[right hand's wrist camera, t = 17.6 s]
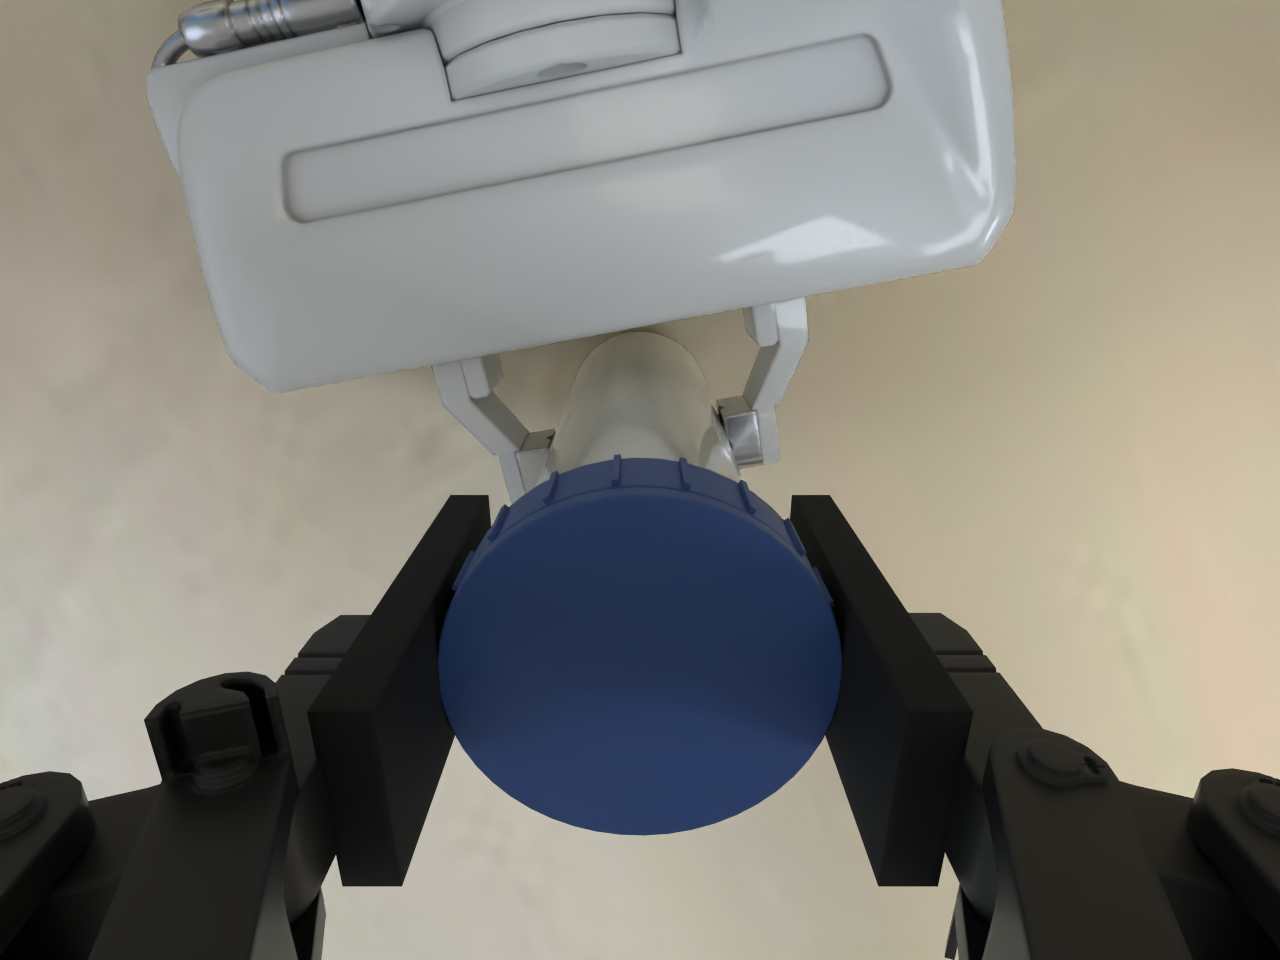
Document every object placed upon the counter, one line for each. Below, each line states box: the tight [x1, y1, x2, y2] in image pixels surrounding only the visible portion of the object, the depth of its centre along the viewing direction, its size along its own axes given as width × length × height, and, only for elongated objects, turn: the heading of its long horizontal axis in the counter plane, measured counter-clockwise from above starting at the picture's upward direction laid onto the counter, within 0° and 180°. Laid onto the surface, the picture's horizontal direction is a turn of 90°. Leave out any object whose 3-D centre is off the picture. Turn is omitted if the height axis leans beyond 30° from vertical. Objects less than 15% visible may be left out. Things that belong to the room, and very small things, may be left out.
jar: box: [534, 332, 743, 488], centre depth 19 cm, size 5×5×17 cm
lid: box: [437, 454, 843, 835], centre depth 11 cm, size 6×6×2 cm
